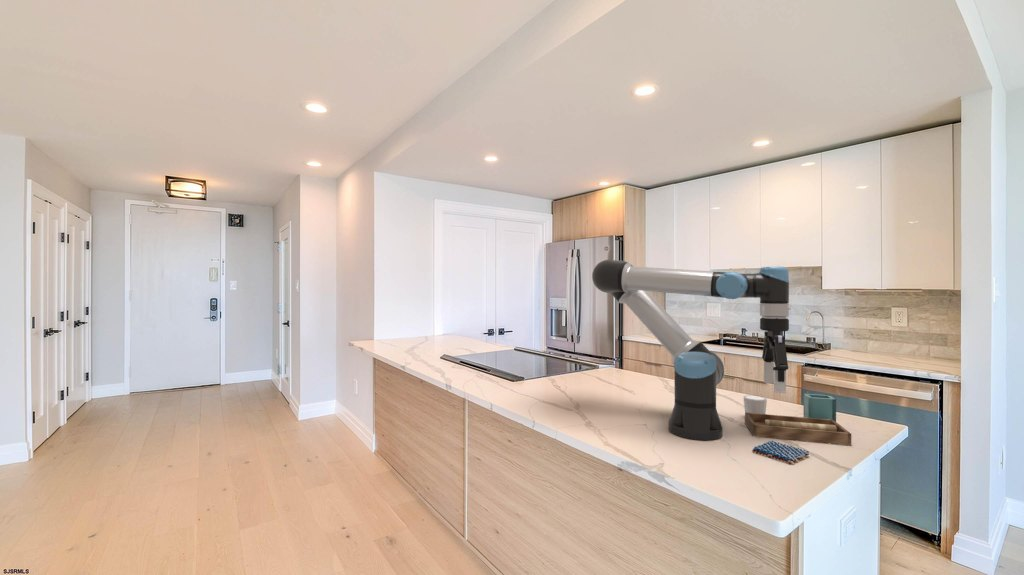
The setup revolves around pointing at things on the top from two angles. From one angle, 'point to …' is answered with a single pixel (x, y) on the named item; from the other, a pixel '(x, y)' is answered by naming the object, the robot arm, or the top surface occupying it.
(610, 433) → the top surface
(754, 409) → the shot glass
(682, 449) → the top surface
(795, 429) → the tray
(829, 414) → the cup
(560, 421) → the top surface
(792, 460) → the woven mat
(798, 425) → the dowel
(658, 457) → the top surface
